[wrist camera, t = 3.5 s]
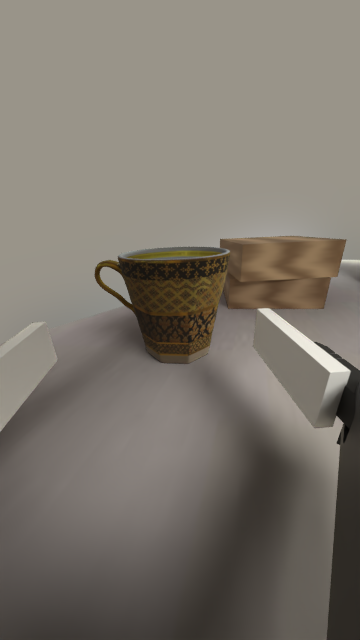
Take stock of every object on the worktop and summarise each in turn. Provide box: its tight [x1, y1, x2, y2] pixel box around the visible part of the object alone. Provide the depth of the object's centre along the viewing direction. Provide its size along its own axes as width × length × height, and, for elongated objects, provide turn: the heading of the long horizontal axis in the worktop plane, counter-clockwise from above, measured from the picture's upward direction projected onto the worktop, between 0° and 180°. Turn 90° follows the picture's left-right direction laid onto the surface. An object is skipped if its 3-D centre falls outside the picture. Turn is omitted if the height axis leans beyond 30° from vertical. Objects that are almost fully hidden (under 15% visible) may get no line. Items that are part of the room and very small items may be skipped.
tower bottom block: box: [223, 272, 331, 309], centre depth 39 cm, size 14×14×5 cm
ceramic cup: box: [95, 247, 230, 364], centre depth 22 cm, size 13×10×10 cm
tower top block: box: [220, 236, 346, 282], centre depth 36 cm, size 14×14×5 cm
